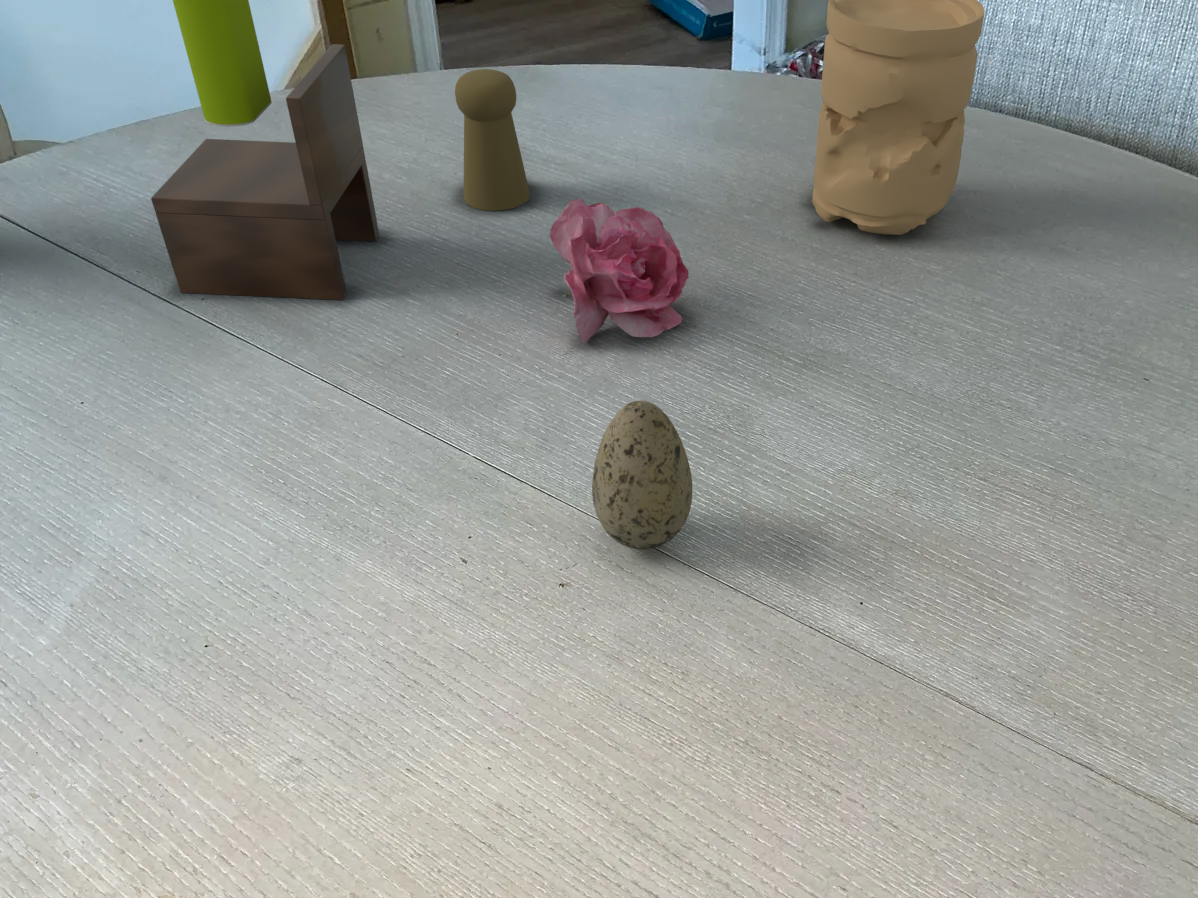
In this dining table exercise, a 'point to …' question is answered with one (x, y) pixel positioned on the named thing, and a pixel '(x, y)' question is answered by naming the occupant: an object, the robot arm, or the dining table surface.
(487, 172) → the brown peg doll
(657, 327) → the flower
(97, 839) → the dining table surface
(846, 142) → the container
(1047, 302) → the dining table surface
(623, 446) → the decorative egg
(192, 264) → the wooden toy chair
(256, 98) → the vape
